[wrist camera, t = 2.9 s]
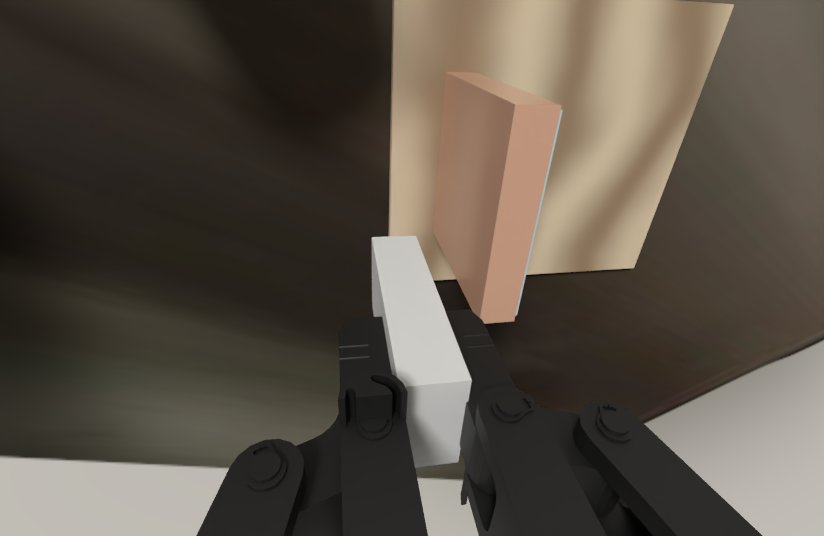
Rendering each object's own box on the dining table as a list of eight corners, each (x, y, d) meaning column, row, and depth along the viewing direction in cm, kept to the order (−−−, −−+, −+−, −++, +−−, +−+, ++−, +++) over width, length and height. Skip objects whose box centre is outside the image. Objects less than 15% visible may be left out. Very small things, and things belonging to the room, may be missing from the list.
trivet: (387, 278, 30) (388, 283, 30) (392, -18, 21) (394, -19, 20) (629, 264, 34) (633, 268, 33) (726, 4, 24) (734, 4, 24)
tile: (433, 232, 28) (479, 324, 20) (445, 71, 23) (515, 104, 15) (461, 231, 28) (517, 320, 20) (479, 72, 23) (566, 105, 15)
